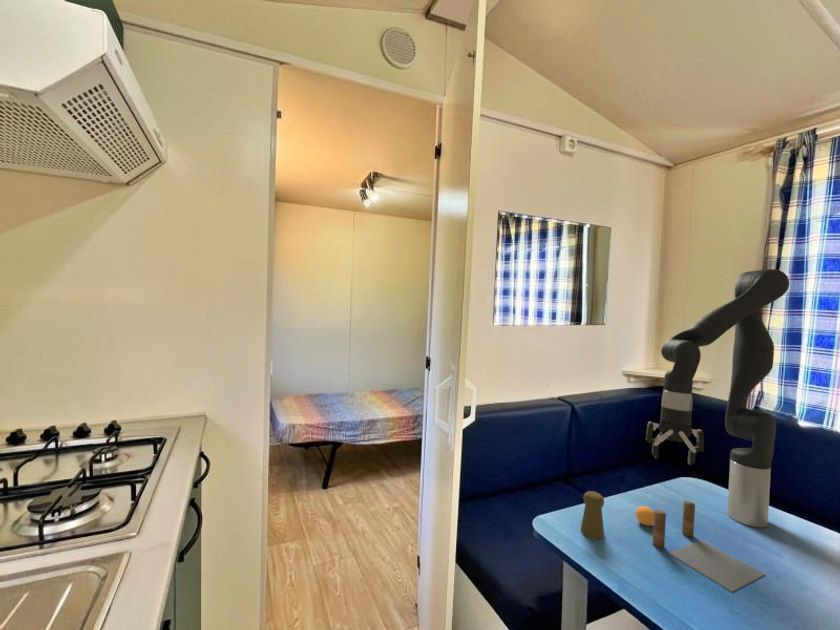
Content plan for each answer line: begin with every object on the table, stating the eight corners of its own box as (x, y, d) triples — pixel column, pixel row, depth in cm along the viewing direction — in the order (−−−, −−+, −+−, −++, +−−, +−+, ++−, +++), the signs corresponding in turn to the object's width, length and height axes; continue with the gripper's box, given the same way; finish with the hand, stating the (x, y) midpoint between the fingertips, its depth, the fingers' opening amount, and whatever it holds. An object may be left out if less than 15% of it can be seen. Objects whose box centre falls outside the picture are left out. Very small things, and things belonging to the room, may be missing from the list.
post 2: (685, 531, 106) (687, 500, 106) (695, 536, 104) (697, 504, 104) (680, 533, 105) (681, 501, 105) (689, 538, 103) (691, 506, 103)
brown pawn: (607, 540, 101) (608, 500, 101) (583, 537, 102) (584, 497, 102) (601, 527, 107) (602, 489, 107) (578, 524, 108) (579, 487, 108)
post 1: (656, 541, 101) (658, 509, 101) (666, 547, 99) (668, 514, 99) (650, 544, 100) (652, 510, 100) (660, 550, 98) (661, 516, 97)
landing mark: (701, 540, 102) (701, 539, 102) (765, 574, 89) (765, 574, 89) (668, 553, 96) (668, 552, 96) (732, 592, 84) (732, 591, 84)
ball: (642, 517, 113) (643, 501, 112) (659, 527, 108) (660, 510, 108) (631, 521, 111) (632, 504, 110) (647, 531, 106) (648, 513, 106)
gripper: (702, 408, 112) (698, 462, 112) (647, 400, 118) (643, 452, 118) (709, 413, 106) (705, 470, 105) (650, 404, 111) (646, 459, 111)
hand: (672, 460), depth 112 cm, fingers open, 8 cm apart
